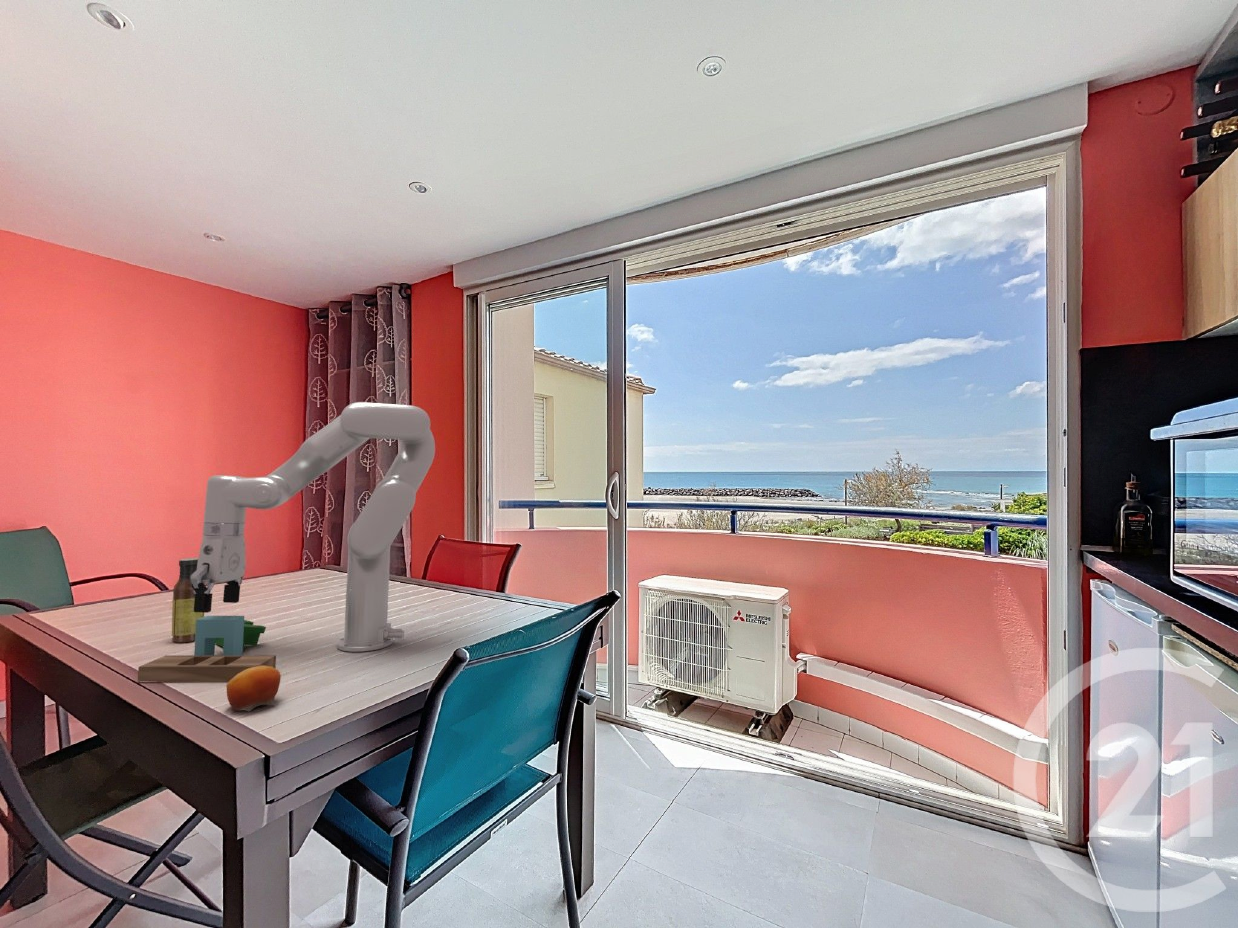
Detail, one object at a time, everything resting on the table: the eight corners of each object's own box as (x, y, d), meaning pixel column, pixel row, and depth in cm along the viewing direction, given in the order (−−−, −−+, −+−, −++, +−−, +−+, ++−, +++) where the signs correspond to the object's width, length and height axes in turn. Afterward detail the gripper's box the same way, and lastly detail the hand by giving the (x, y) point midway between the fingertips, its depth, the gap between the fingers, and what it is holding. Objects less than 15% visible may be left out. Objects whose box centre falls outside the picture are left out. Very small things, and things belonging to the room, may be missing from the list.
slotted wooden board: (164, 669, 112) (165, 655, 113) (275, 669, 114) (276, 655, 114) (137, 682, 106) (138, 666, 106) (256, 681, 107) (256, 666, 107)
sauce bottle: (209, 638, 135) (213, 558, 136) (182, 644, 129) (186, 561, 130) (191, 635, 137) (195, 556, 138) (163, 641, 131) (168, 559, 132)
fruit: (244, 713, 90) (235, 666, 92) (224, 727, 93) (216, 682, 96) (295, 697, 97) (285, 654, 99) (274, 711, 100) (265, 669, 103)
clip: (205, 655, 122) (207, 615, 122) (242, 655, 123) (244, 615, 123) (193, 660, 118) (196, 619, 119) (232, 660, 119) (234, 619, 119)
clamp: (252, 665, 129) (270, 631, 129) (224, 665, 124) (243, 630, 124) (238, 636, 136) (255, 604, 136) (212, 635, 132) (229, 603, 132)
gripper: (216, 534, 113) (208, 616, 112) (263, 528, 130) (257, 599, 129) (178, 532, 112) (170, 615, 112) (230, 526, 130) (224, 598, 129)
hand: (217, 606), depth 121 cm, fingers open, 9 cm apart
